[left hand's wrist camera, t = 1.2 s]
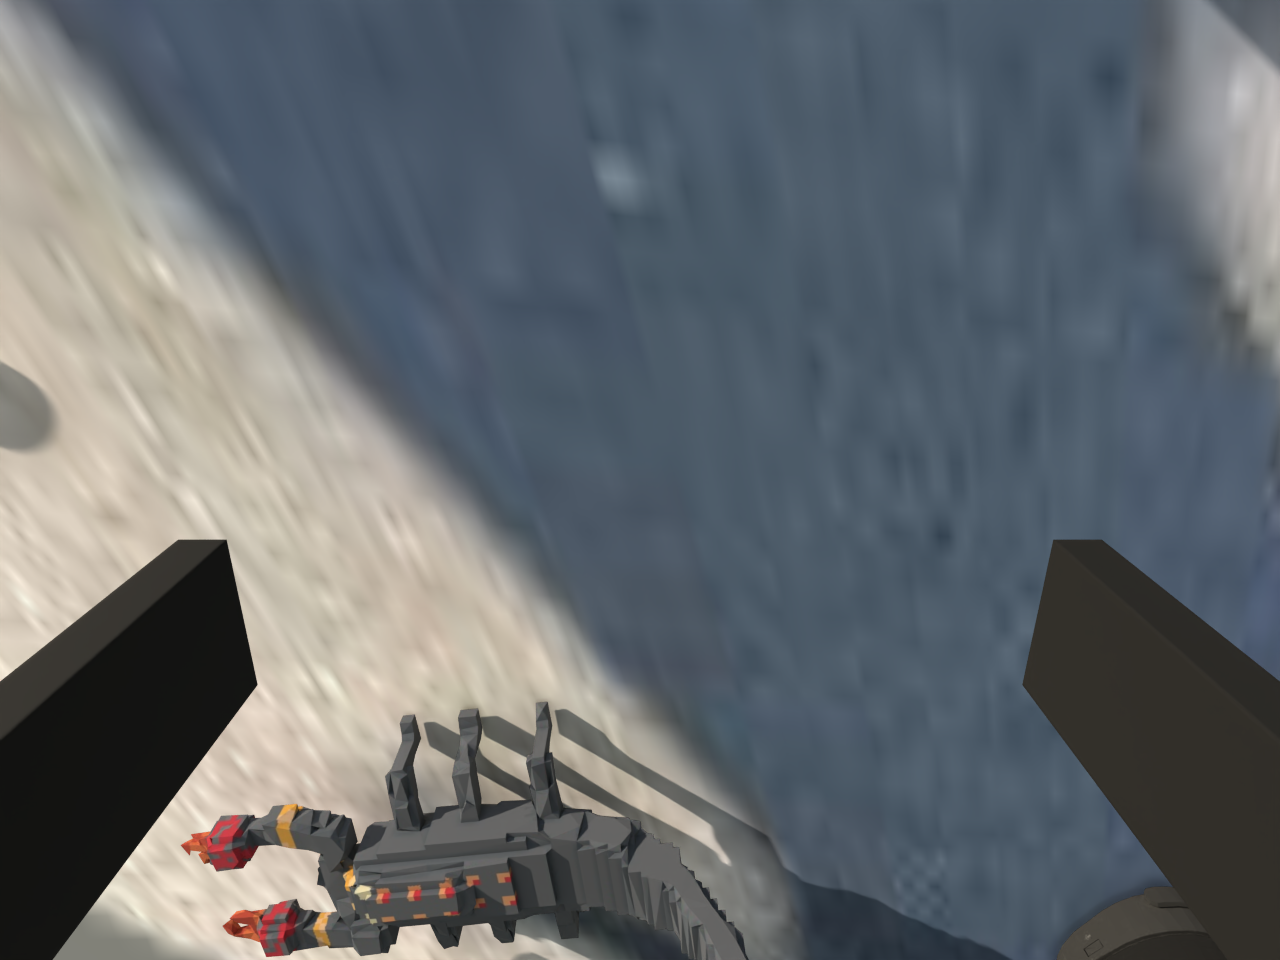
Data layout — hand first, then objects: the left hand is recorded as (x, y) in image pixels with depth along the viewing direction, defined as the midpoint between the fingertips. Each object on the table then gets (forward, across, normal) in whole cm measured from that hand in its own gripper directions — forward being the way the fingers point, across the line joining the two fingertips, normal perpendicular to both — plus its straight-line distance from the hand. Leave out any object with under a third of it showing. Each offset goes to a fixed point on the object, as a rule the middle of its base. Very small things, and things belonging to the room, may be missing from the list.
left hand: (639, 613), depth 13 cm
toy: (+21, -9, -24) cm, 33 cm away
